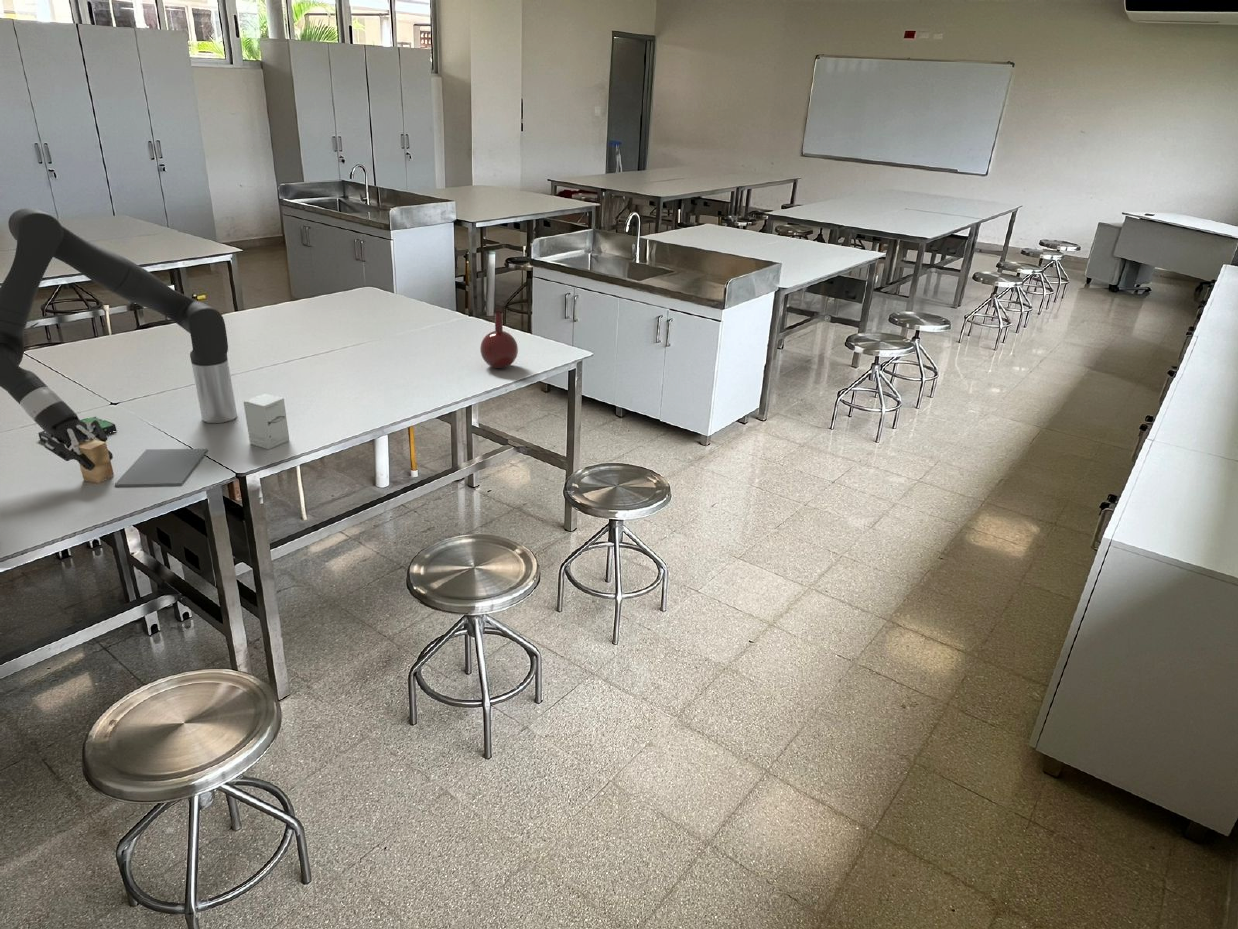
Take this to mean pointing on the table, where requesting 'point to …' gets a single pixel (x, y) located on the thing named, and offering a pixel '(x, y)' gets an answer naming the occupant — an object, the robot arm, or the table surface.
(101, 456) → the oak block
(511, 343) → the round-bottom flask
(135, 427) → the table surface
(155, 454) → the rubber mat
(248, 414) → the supplement box
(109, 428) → the disk drive
